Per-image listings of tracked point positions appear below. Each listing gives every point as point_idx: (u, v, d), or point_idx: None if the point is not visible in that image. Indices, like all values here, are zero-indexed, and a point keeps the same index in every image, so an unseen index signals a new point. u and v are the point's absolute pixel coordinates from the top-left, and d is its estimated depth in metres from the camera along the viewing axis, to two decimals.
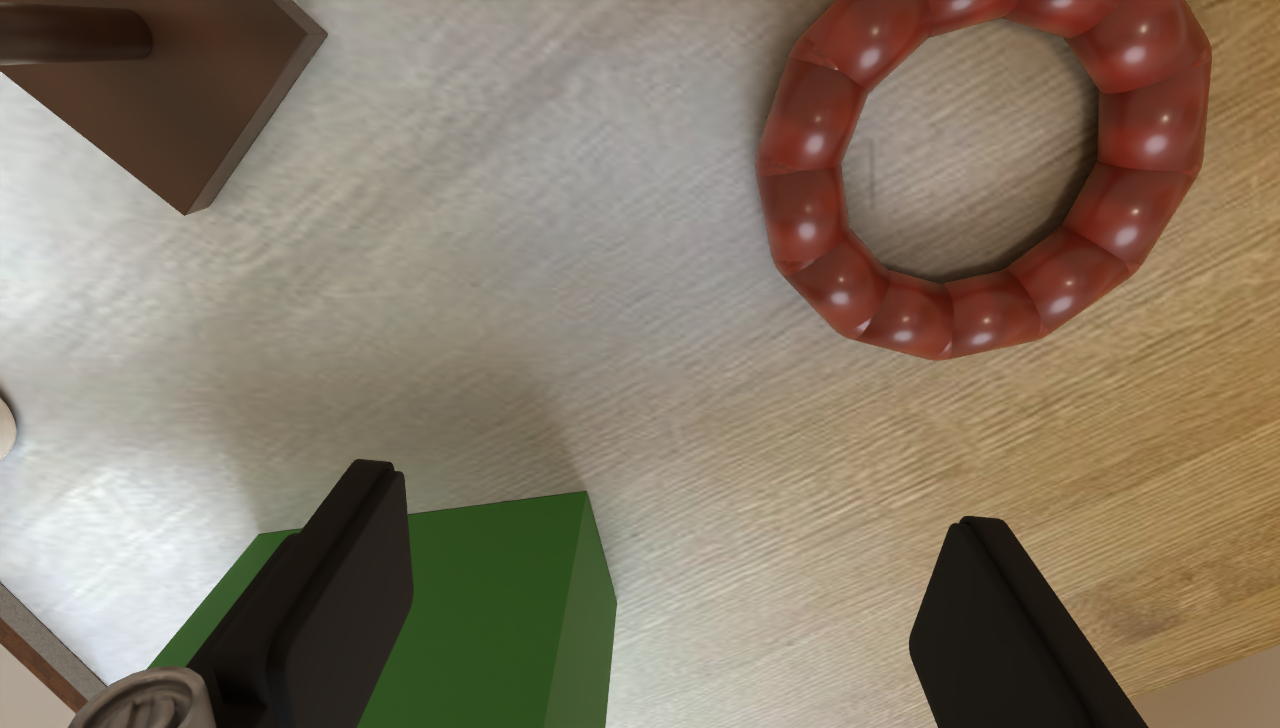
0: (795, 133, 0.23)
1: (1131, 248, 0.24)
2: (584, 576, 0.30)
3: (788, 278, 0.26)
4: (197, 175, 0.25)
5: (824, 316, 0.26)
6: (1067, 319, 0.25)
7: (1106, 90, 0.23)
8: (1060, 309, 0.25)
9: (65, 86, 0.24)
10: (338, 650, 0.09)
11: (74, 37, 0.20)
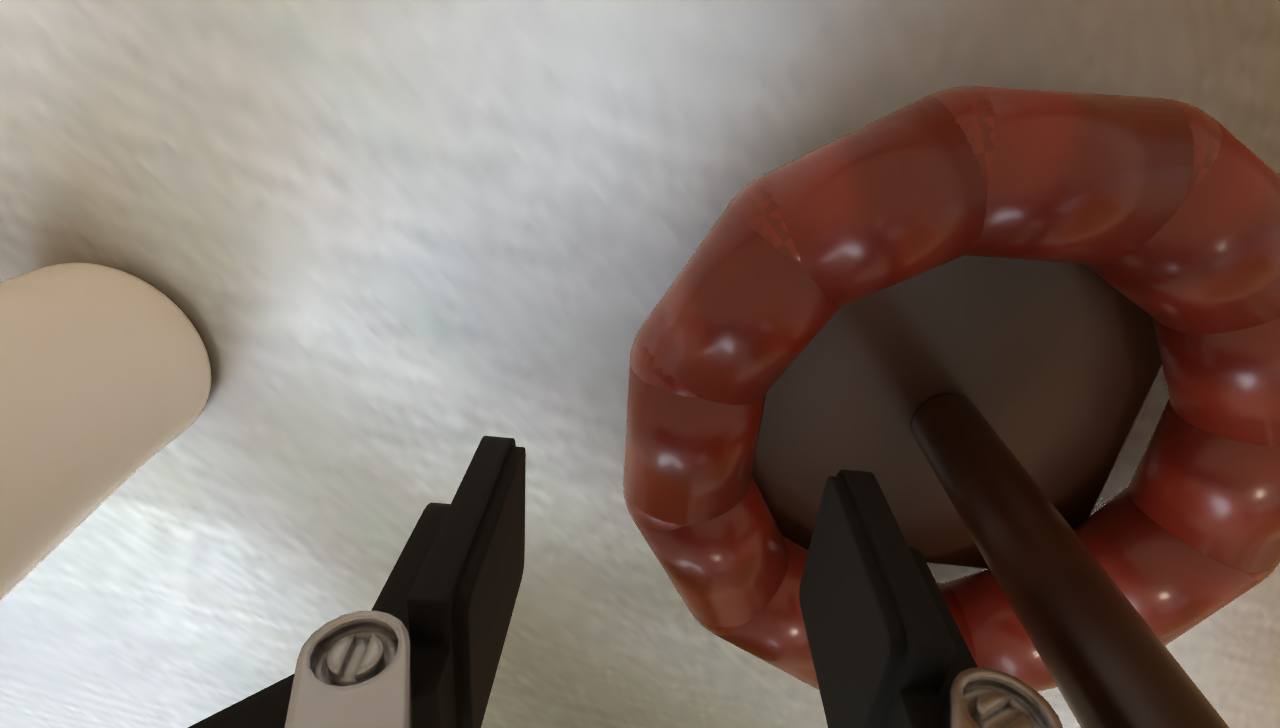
0: (845, 208, 0.12)
1: None
2: None
3: (633, 380, 0.14)
4: (804, 539, 0.18)
5: (629, 465, 0.15)
6: None
7: (1147, 507, 0.15)
8: None
9: (819, 376, 0.16)
10: (490, 604, 0.10)
11: None
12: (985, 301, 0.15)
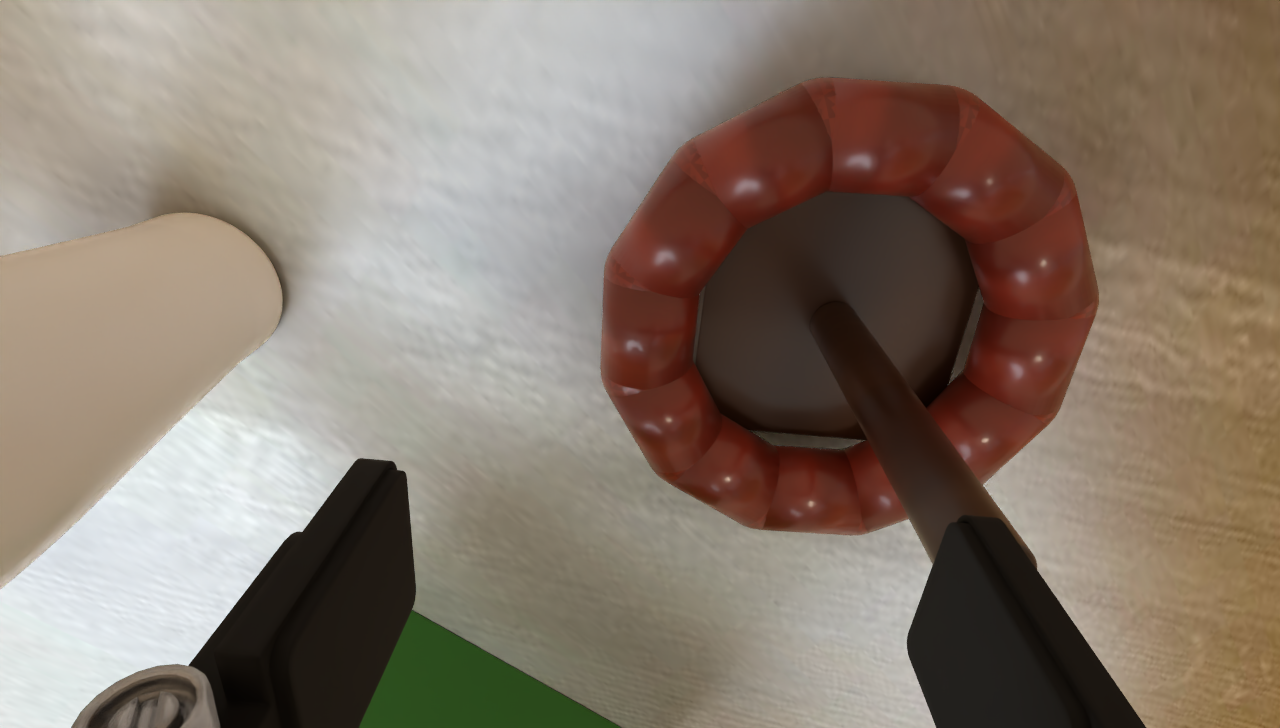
0: (743, 156, 0.18)
1: (875, 515, 0.23)
2: None
3: (606, 284, 0.20)
4: (737, 420, 0.24)
5: (604, 350, 0.21)
6: (782, 530, 0.23)
7: (971, 376, 0.22)
8: (786, 518, 0.23)
9: (741, 289, 0.22)
10: (340, 648, 0.09)
11: None
12: (855, 231, 0.21)
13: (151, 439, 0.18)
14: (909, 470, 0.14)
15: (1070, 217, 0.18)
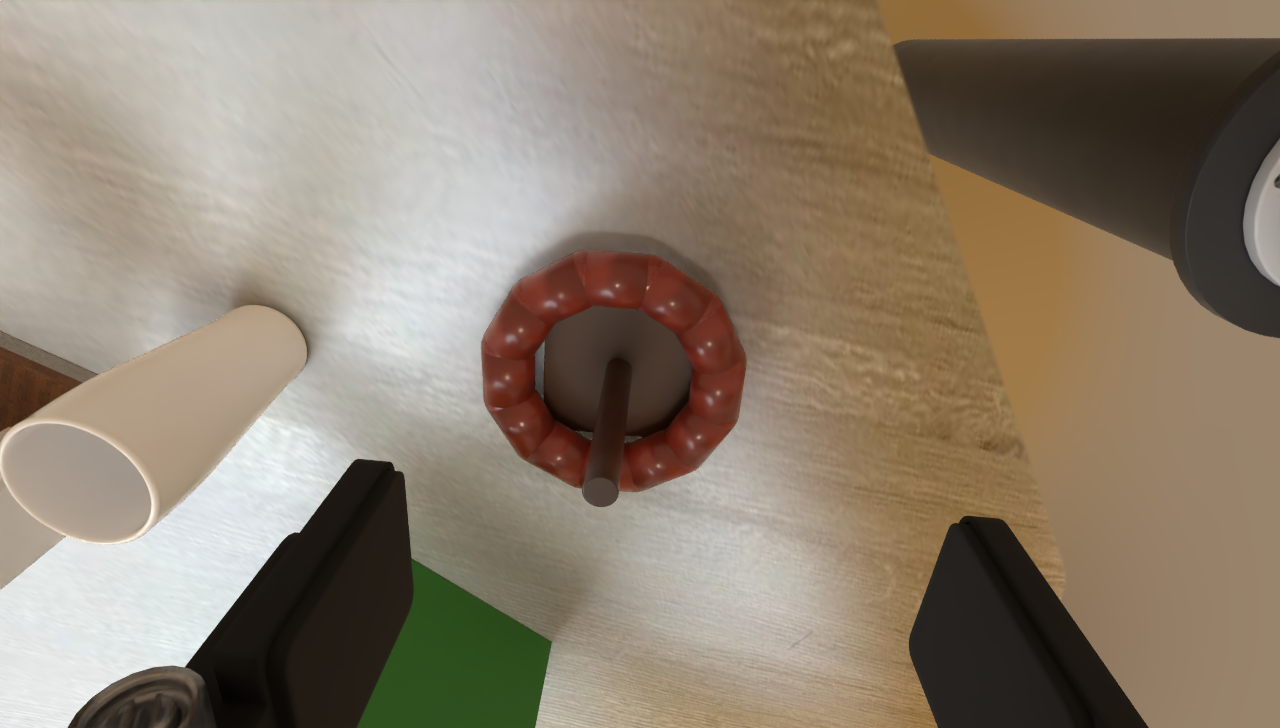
0: (542, 292, 0.35)
1: (640, 479, 0.40)
2: None
3: (481, 351, 0.37)
4: (571, 425, 0.42)
5: (483, 386, 0.38)
6: None
7: (689, 402, 0.39)
8: None
9: (565, 351, 0.40)
10: (338, 650, 0.09)
11: None
12: (623, 321, 0.39)
13: (243, 432, 0.35)
14: (591, 450, 0.31)
15: (713, 323, 0.35)
